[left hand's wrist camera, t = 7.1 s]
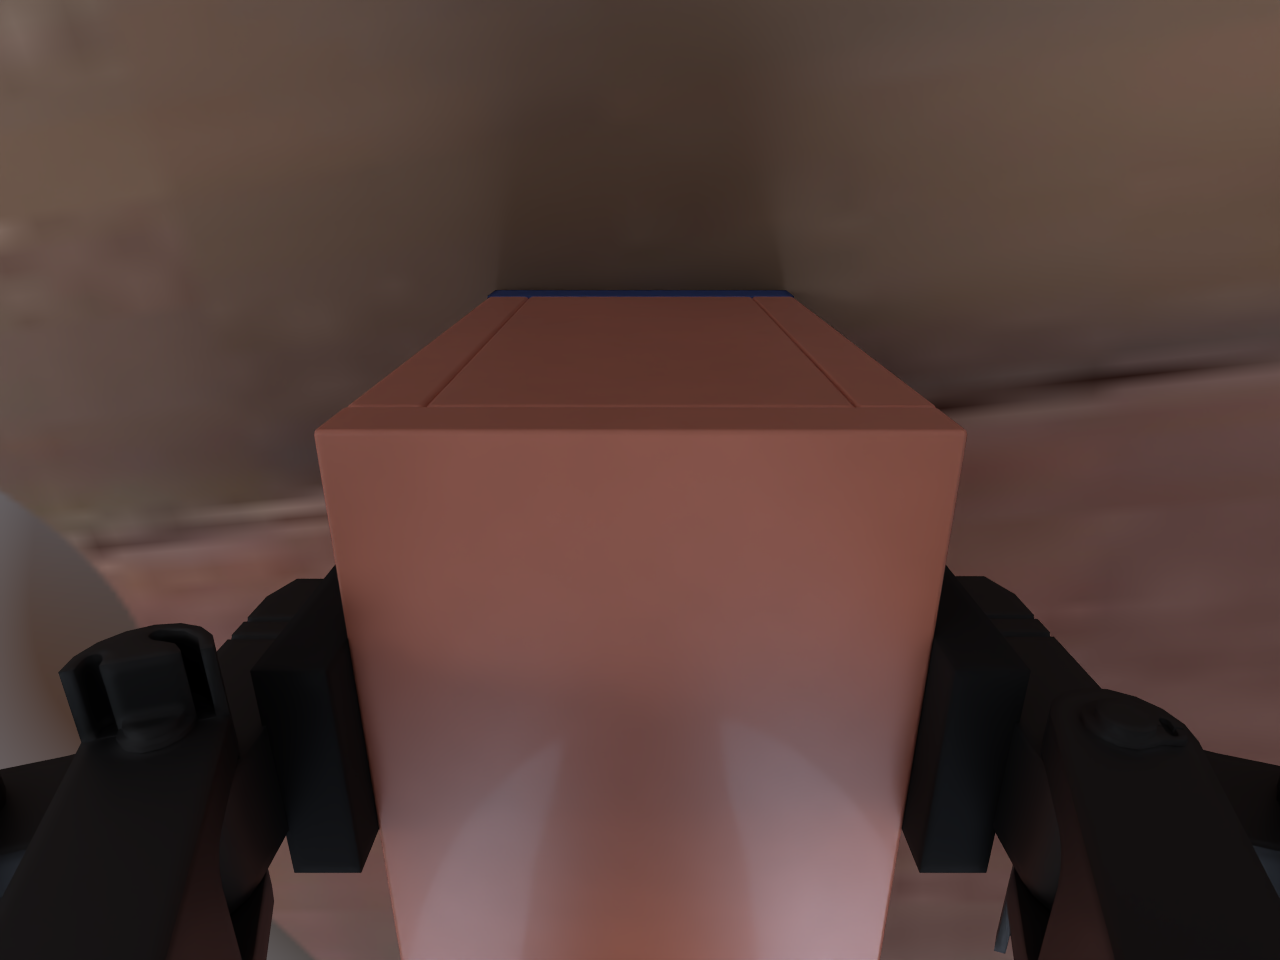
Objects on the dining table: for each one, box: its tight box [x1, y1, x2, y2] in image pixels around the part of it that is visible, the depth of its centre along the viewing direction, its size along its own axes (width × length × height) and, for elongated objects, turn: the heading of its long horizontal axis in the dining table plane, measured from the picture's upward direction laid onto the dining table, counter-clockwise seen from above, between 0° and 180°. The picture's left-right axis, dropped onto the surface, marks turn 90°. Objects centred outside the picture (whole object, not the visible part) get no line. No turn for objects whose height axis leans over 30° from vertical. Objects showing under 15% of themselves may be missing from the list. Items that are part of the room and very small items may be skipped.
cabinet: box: [314, 290, 967, 960], centre depth 15 cm, size 16×6×10 cm, turn 0°
